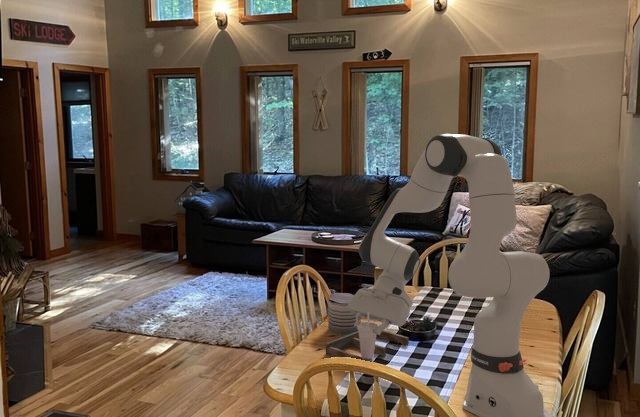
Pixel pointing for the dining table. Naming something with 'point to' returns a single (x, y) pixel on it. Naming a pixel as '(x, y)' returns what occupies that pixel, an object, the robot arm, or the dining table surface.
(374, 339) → the smoothie
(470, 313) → the dining table surface
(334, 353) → the lane rack
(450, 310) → the dining table surface
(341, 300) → the can
